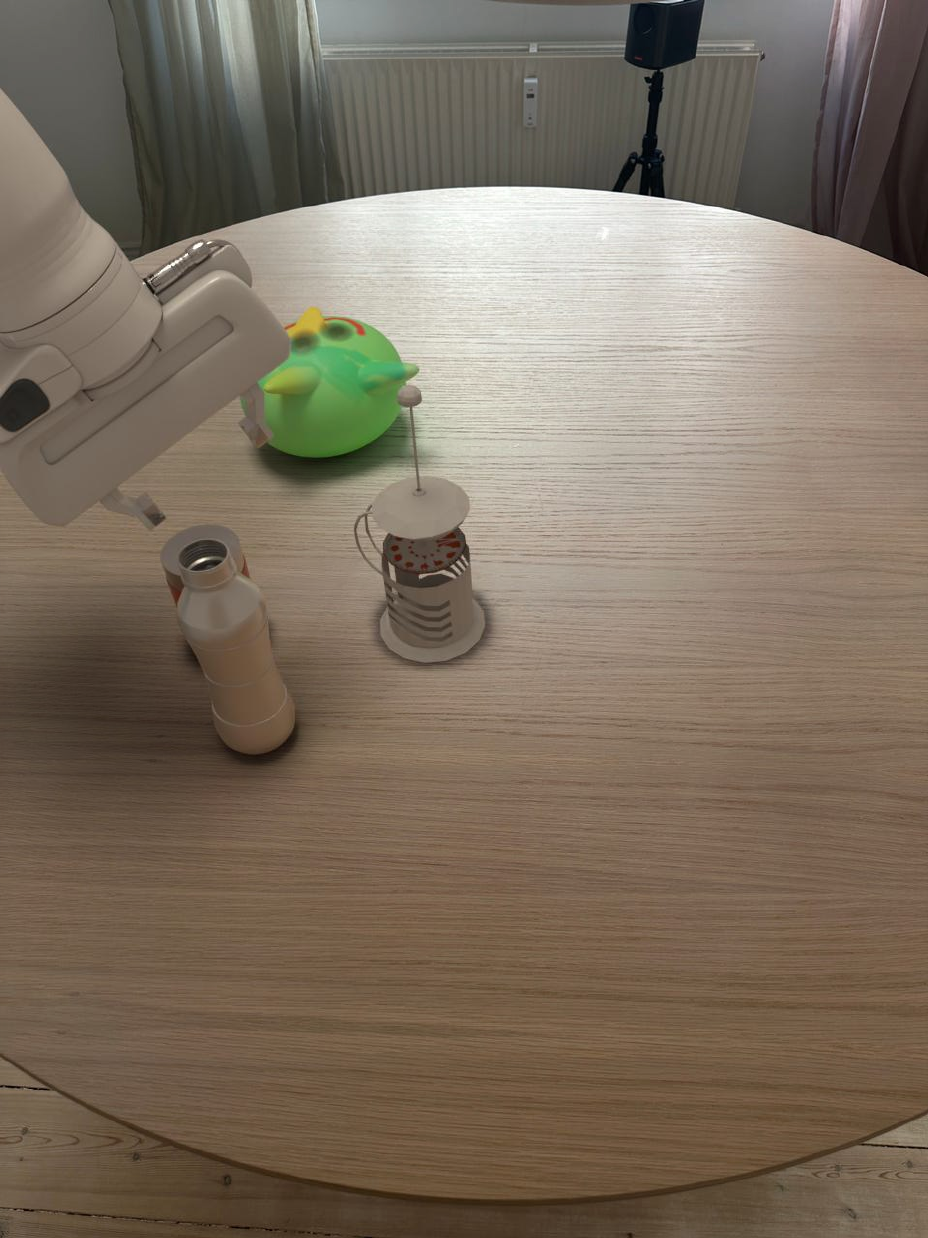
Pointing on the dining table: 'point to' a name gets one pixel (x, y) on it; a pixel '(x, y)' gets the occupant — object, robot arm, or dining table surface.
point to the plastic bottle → (233, 648)
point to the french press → (425, 563)
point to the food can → (193, 534)
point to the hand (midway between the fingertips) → (210, 479)
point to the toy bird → (333, 387)
